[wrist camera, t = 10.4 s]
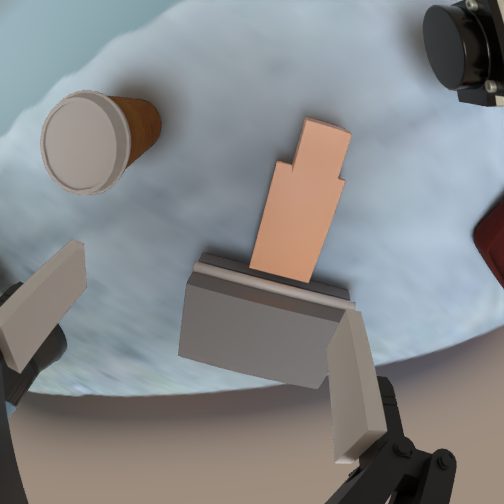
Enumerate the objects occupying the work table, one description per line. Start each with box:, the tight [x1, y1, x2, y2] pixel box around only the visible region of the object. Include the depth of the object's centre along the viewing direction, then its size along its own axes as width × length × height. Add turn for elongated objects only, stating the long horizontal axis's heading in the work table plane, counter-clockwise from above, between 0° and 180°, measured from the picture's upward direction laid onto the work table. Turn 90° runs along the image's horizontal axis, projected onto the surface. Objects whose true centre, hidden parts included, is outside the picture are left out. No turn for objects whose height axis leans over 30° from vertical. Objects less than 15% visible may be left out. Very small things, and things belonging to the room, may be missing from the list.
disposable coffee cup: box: [40, 90, 161, 195], centre depth 28 cm, size 10×10×12 cm
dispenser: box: [178, 252, 356, 389], centre depth 40 cm, size 13×19×7 cm
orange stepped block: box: [249, 117, 352, 283], centre depth 31 cm, size 18×7×4 cm, turn 167°
